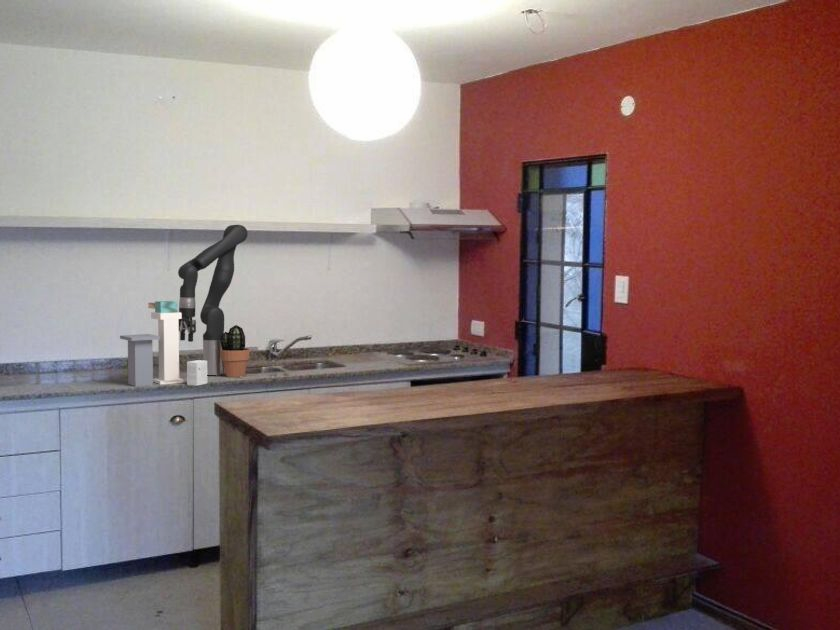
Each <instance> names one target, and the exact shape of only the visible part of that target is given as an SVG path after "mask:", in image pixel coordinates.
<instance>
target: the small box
mask: <svg viewBox="0 0 840 630" xmlns="http://www.w3.org/2000/svg"><path fill="white" fill-rule="evenodd" d="M186 380H187V381H186V383H187V386H193V387H194V386H195V387H197V386H201V385H206V384H208V376H207V361H204V360H203V359H202V360H200V359H196V360H190V361H187V362H186Z"/></svg>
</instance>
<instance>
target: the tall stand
mask: <svg viewBox="0 0 840 630" xmlns="http://www.w3.org/2000/svg"><path fill="white" fill-rule="evenodd" d="M177 312H178V313H155V311H153V312H151V313H150V317H151V319H152V320H157V329H158V332H157V336H160V339H157V340H158V344H157V345H158V377H157V378H155V377H154V378H153V382H155V383H154V384H156V383H158V384H157V385H170V384H180V383H182V384H183V383H184V379H183V378H180V346H179V345H180V341H179V340H180V332H179V321H178V319H182V313H180V312H179V311H177Z"/></svg>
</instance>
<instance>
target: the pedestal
mask: <svg viewBox="0 0 840 630" xmlns="http://www.w3.org/2000/svg"><path fill="white" fill-rule="evenodd" d="M119 339H120V340H125V341H127V361H128V362H127V366H128V367H127V369H128V371H127V372H128V373H127V374H128V375H127V376H128V379H127V380H128V381H127V382H128V383H127V384H128V386H132V387H147V386H153V385H154V383H153V379H154V370H153V369H154V366H153V365H154V362H153V359H154V357H153V356H154V355H153V341H154V340H155V341H157V340H158V339H160V336H158V335H155V334H152V333H151V334H149V333H144V334H143V333H142V334H140V333H139V334H126V335H125V334H124V335H119Z"/></svg>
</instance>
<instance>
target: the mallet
mask: <svg viewBox="0 0 840 630" xmlns="http://www.w3.org/2000/svg"><path fill="white" fill-rule="evenodd" d="M147 305H148V306H147V308H148V309H153V310H154V312H155V313H178V312H179V311H178V301H176V300H175V301H174V300H164V301H163V300H162V301H161V300H160V301H158V300H157V301H154V302H148V304H147Z"/></svg>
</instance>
